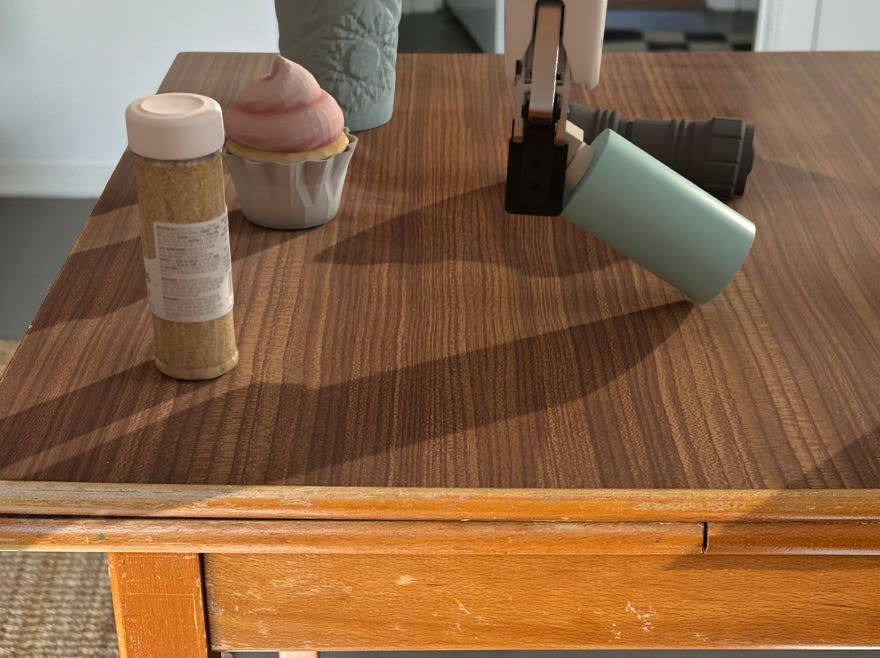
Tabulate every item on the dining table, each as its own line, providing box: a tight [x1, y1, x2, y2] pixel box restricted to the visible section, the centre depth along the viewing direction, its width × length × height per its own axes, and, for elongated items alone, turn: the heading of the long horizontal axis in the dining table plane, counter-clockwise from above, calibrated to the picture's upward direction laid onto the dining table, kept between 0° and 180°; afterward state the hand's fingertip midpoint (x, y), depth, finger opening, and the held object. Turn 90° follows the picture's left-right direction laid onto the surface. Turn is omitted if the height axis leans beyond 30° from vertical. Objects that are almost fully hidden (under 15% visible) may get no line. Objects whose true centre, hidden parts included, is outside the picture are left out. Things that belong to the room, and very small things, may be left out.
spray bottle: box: [554, 102, 757, 305], centre depth 74 cm, size 14×5×5 cm, turn 83°
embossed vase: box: [273, 0, 403, 133], centre depth 101 cm, size 10×10×12 cm
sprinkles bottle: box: [124, 92, 240, 381], centre depth 66 cm, size 5×5×14 cm
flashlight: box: [567, 101, 756, 201], centre depth 90 cm, size 15×5×5 cm, turn 78°
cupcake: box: [222, 54, 359, 230], centre depth 85 cm, size 9×9×10 cm
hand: (534, 200), depth 75 cm, fingers closed on spray bottle, 2 cm apart
